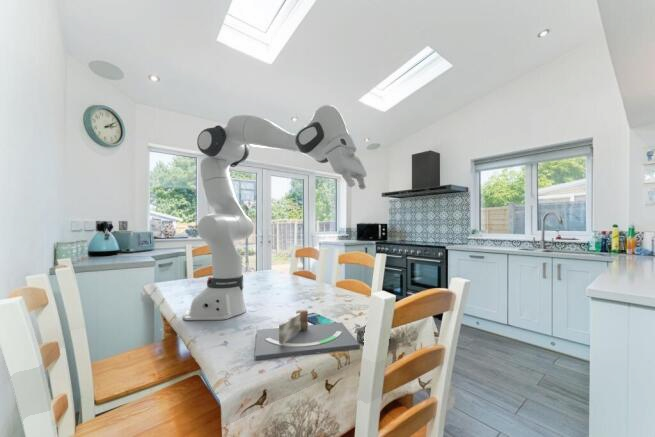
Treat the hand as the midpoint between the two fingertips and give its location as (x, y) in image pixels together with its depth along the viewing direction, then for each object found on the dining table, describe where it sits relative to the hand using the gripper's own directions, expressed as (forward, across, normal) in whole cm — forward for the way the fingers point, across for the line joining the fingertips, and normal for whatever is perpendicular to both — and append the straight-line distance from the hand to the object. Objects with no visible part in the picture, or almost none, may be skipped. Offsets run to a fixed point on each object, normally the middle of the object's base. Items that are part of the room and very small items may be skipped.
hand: (358, 187), depth 88 cm
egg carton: (+45, +4, -13) cm, 47 cm away
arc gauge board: (+37, +14, -29) cm, 49 cm away
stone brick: (+35, +15, -32) cm, 49 cm away
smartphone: (+36, -3, -34) cm, 50 cm away
